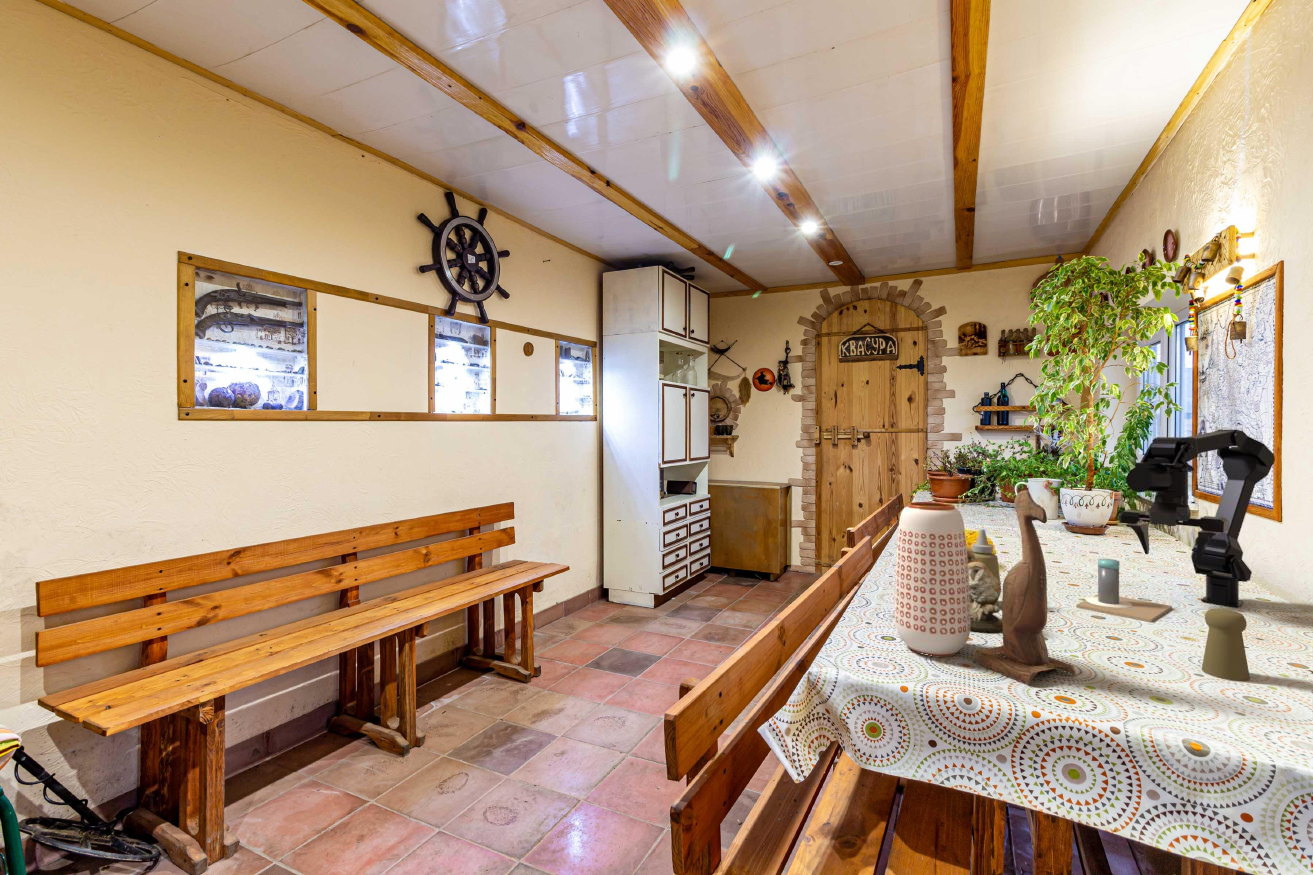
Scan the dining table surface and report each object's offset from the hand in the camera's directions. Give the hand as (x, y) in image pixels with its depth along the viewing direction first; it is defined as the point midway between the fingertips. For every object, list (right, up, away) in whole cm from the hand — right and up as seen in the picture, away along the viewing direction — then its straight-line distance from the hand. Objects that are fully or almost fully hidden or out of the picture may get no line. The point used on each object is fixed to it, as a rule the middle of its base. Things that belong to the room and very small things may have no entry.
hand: (1171, 557), depth 139 cm
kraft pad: (-10, -12, +1) cm, 16 cm away
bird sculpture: (-56, -13, -34) cm, 66 cm away
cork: (-23, -13, -37) cm, 45 cm away
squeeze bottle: (-41, -13, +6) cm, 43 cm away
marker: (-12, -11, +3) cm, 17 cm away
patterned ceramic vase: (-67, -13, -23) cm, 72 cm away
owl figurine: (-53, -13, -7) cm, 55 cm away
